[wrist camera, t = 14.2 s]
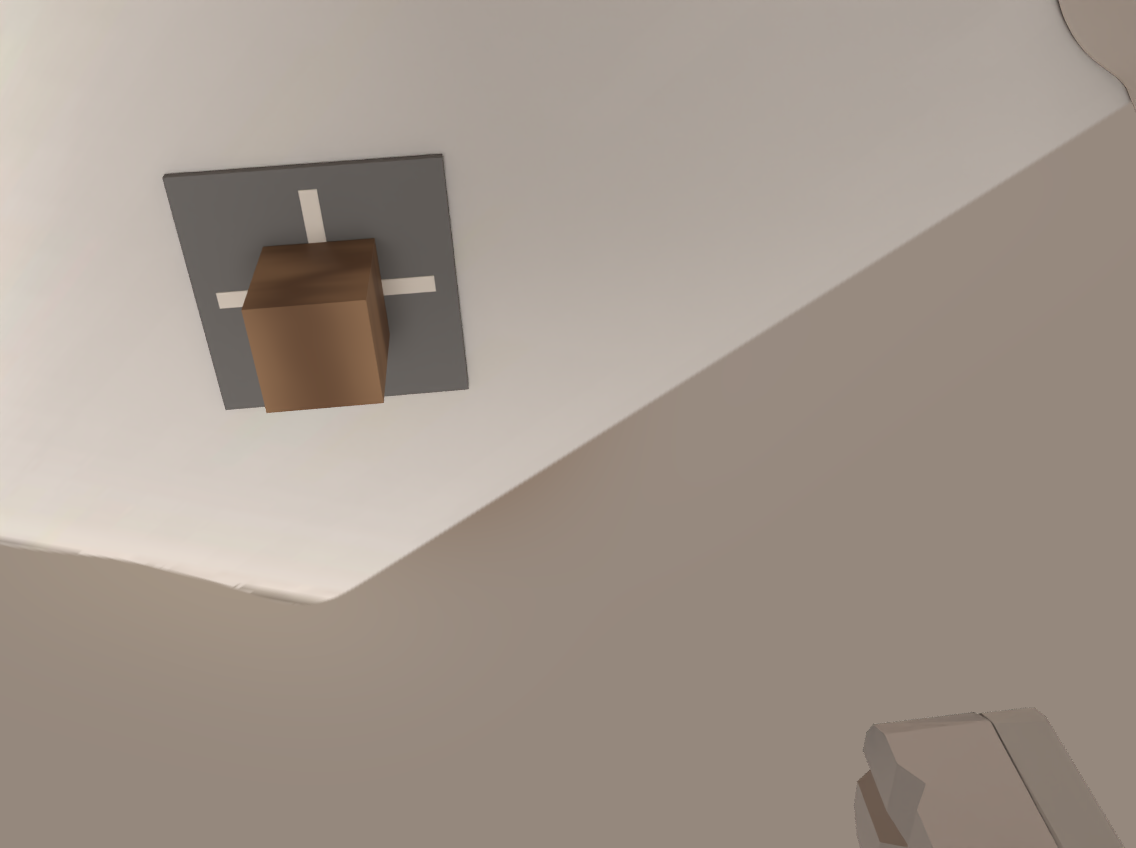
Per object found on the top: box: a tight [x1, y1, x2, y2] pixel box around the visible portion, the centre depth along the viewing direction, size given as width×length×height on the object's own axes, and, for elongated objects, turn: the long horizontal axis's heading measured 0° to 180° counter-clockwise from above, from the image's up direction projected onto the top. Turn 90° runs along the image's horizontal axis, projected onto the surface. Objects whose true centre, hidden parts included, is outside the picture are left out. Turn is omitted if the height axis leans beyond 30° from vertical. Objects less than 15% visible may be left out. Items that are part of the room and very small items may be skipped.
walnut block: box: [241, 238, 390, 413], centre depth 46 cm, size 5×5×6 cm
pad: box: [163, 154, 469, 410], centre depth 49 cm, size 12×12×1 cm
